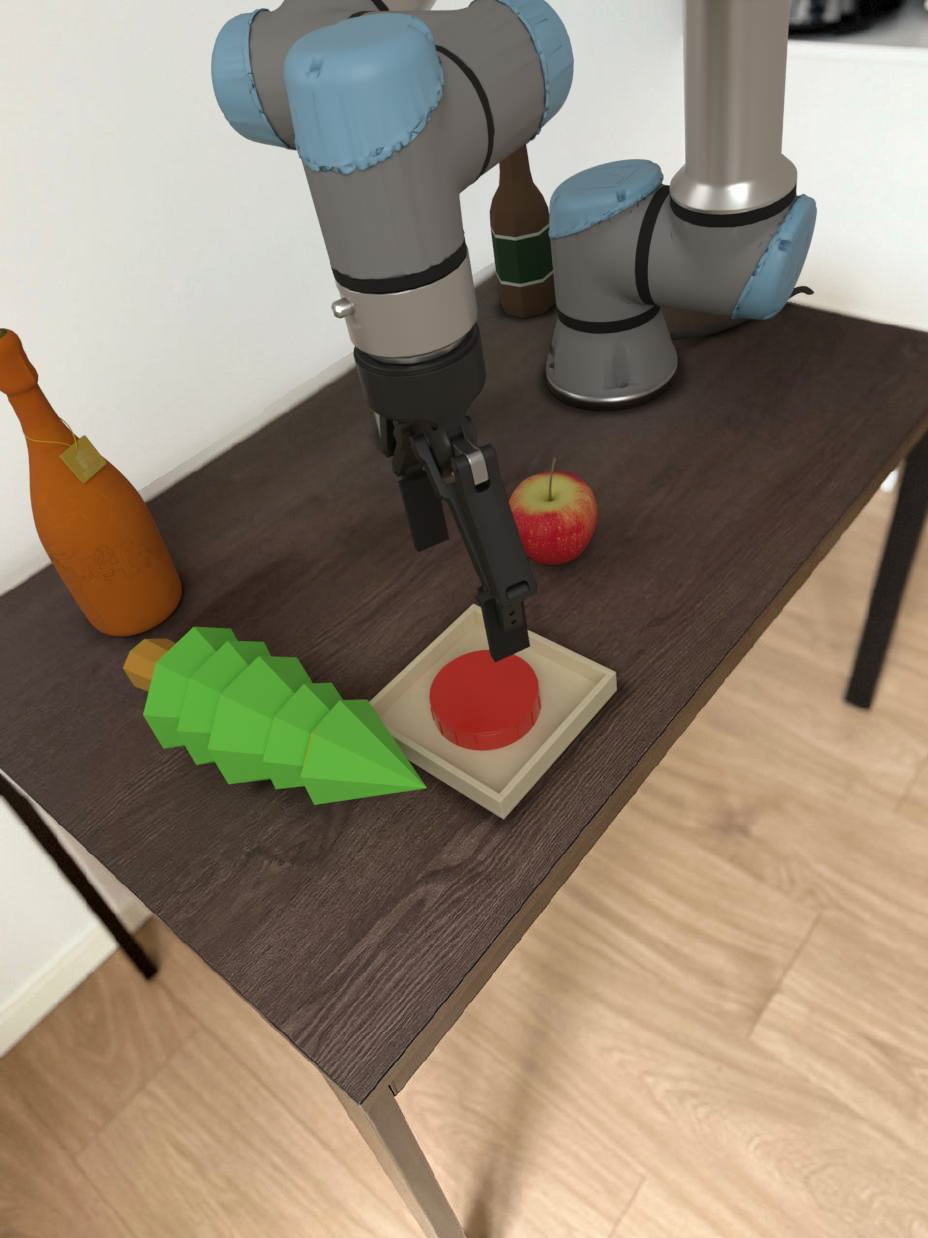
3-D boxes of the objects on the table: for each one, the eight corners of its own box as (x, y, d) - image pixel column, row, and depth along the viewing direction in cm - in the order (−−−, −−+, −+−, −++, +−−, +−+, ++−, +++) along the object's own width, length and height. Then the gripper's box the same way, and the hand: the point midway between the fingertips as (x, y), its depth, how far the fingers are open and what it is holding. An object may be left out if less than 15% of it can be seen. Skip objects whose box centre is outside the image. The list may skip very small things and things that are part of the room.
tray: (476, 621, 87) (473, 603, 85) (617, 690, 79) (616, 671, 77) (361, 731, 80) (355, 713, 78) (503, 820, 71) (500, 802, 70)
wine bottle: (101, 658, 91) (-66, 381, 70) (82, 599, 97) (-76, 331, 76) (198, 615, 93) (65, 335, 72) (173, 561, 100) (44, 290, 79)
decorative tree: (136, 579, 79) (429, 691, 64) (217, 634, 88) (488, 743, 73) (62, 701, 76) (351, 849, 61) (154, 745, 85) (423, 882, 70)
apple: (612, 533, 93) (608, 448, 86) (577, 590, 88) (570, 505, 81) (535, 517, 96) (526, 434, 89) (498, 570, 91) (485, 487, 84)
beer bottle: (553, 317, 125) (536, 122, 108) (495, 320, 127) (470, 128, 110) (560, 289, 130) (546, 99, 113) (505, 292, 132) (482, 105, 115)
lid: (536, 661, 82) (534, 643, 80) (545, 744, 75) (542, 727, 74) (433, 673, 82) (429, 655, 81) (433, 756, 76) (428, 739, 74)
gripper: (290, 276, 63) (363, 522, 78) (443, 460, 46) (498, 730, 61) (394, 240, 64) (445, 488, 79) (578, 405, 47) (600, 681, 62)
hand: (468, 594), depth 70 cm, fingers open, 13 cm apart
